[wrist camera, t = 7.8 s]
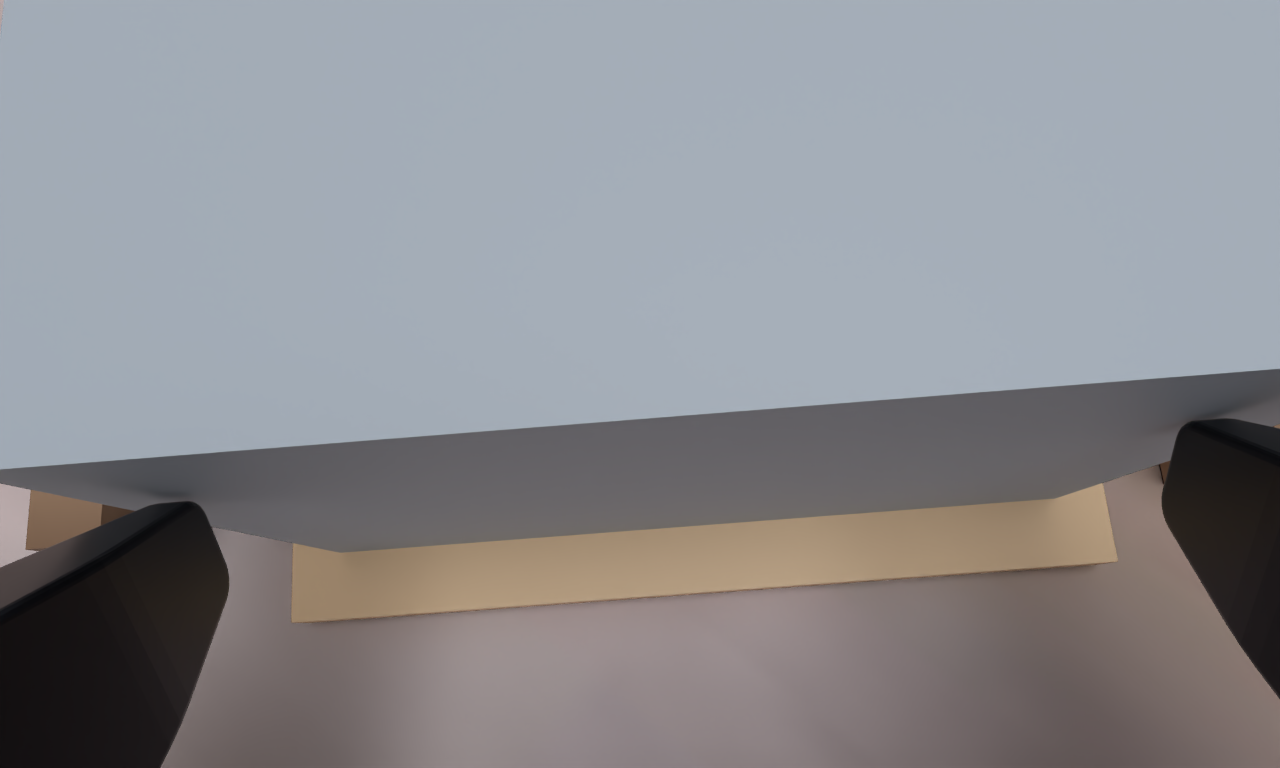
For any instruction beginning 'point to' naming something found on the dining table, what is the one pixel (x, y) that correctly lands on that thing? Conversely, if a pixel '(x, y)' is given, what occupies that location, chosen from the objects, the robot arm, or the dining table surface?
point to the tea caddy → (632, 280)
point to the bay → (104, 516)
